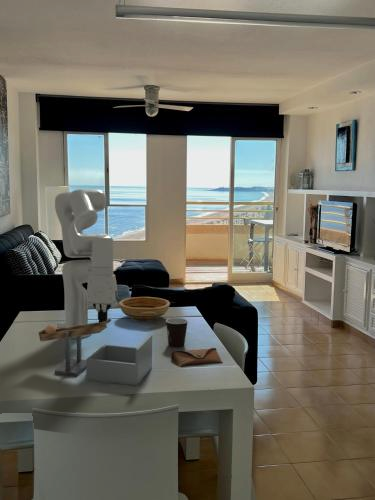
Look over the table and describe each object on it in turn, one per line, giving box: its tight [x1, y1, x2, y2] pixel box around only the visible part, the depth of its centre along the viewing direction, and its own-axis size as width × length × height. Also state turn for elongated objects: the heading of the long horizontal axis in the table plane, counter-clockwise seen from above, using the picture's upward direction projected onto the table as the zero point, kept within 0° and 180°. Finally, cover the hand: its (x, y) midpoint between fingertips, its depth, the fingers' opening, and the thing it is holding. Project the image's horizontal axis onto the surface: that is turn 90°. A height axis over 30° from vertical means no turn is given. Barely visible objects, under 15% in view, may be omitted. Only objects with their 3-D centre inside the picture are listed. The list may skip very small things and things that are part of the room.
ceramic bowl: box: [118, 296, 171, 323], centre depth 231 cm, size 30×24×8 cm
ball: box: [44, 324, 57, 334], centre depth 167 cm, size 4×4×4 cm
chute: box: [38, 318, 112, 342], centre depth 170 cm, size 22×17×3 cm
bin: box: [85, 334, 153, 387], centre depth 163 cm, size 18×16×12 cm
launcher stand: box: [54, 325, 86, 377], centre depth 166 cm, size 8×12×14 cm, turn 167°
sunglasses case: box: [171, 347, 223, 368], centre depth 177 cm, size 18×7×7 cm
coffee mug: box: [165, 317, 188, 349], centre depth 195 cm, size 12×9×10 cm
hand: (102, 321), depth 172 cm, fingers closed
